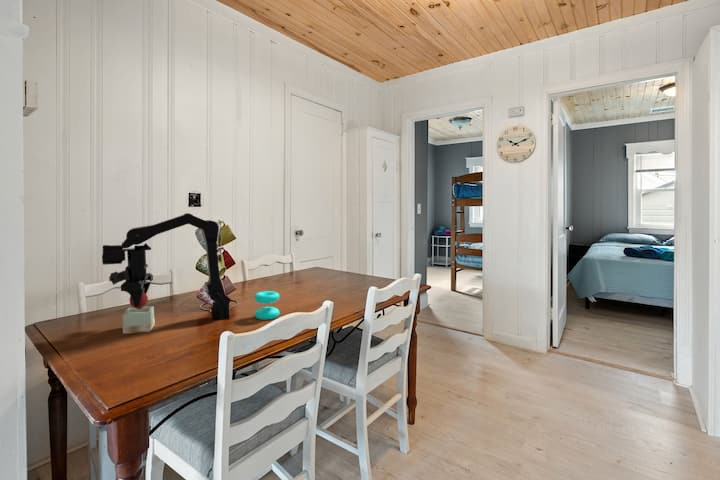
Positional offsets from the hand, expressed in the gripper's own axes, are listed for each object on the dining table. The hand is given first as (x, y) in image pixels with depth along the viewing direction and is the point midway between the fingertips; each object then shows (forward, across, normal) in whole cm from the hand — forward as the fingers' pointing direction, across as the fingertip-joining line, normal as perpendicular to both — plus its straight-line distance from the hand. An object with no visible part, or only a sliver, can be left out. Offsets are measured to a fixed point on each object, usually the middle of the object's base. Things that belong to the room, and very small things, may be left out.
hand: (139, 304), depth 137 cm
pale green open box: (+6, 0, 0) cm, 7 cm away
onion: (+2, 0, 0) cm, 2 cm away
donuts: (+10, -3, +46) cm, 47 cm away
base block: (+10, 0, 0) cm, 10 cm away
